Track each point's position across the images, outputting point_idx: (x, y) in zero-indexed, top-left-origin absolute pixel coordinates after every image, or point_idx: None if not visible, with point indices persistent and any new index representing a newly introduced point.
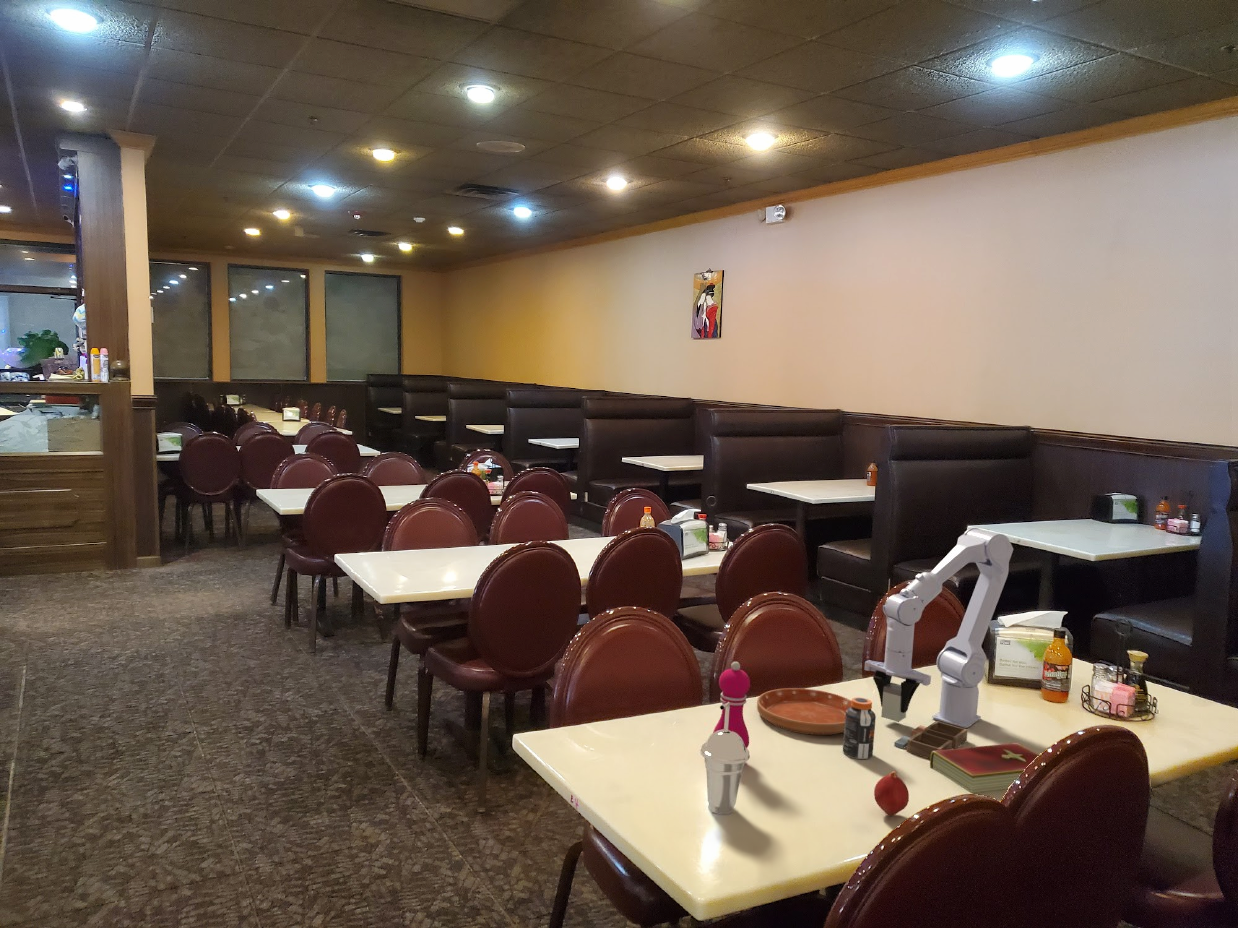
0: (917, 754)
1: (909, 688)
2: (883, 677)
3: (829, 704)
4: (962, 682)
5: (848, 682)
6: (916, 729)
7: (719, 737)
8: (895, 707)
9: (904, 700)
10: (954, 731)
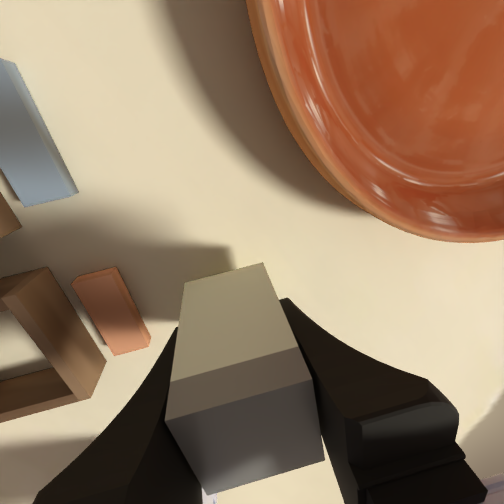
0: None
1: (50, 489)
2: (362, 459)
3: (484, 189)
4: None
5: (489, 402)
6: (118, 304)
7: None
8: (202, 315)
9: (154, 374)
10: (14, 395)
